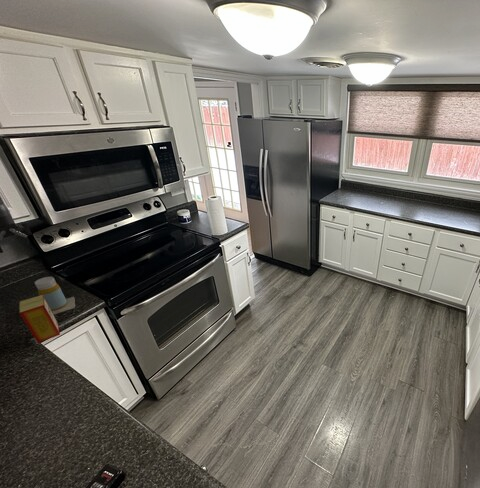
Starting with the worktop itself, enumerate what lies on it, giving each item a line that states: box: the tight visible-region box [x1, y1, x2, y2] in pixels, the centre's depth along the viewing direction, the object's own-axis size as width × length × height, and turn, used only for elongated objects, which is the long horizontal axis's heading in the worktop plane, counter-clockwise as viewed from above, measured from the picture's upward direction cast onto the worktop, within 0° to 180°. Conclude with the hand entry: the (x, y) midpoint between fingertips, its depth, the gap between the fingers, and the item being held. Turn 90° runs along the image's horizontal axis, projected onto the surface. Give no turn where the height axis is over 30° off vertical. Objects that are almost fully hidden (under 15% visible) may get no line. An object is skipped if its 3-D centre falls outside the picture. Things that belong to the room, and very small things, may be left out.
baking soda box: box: [19, 294, 61, 344], centre depth 107 cm, size 10×6×16 cm
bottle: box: [34, 276, 67, 311], centre depth 122 cm, size 7×7×15 cm
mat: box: [52, 296, 76, 316], centre depth 125 cm, size 12×11×1 cm
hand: (14, 248), depth 119 cm, fingers open, 8 cm apart
